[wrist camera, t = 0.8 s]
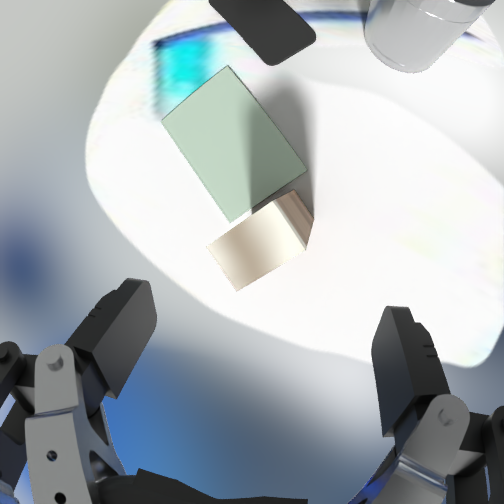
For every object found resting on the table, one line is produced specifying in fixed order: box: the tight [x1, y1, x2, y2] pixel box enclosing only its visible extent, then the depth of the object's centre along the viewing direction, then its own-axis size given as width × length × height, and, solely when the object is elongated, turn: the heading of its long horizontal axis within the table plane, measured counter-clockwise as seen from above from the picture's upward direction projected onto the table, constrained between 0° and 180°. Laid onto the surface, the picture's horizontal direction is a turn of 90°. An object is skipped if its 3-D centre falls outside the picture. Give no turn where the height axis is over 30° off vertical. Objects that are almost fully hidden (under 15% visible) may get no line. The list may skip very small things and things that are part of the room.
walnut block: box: [206, 190, 314, 291], centre depth 27 cm, size 6×4×14 cm, turn 125°
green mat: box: [161, 66, 307, 223], centre depth 33 cm, size 11×16×1 cm
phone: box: [209, 0, 316, 66], centre depth 28 cm, size 7×1×15 cm
